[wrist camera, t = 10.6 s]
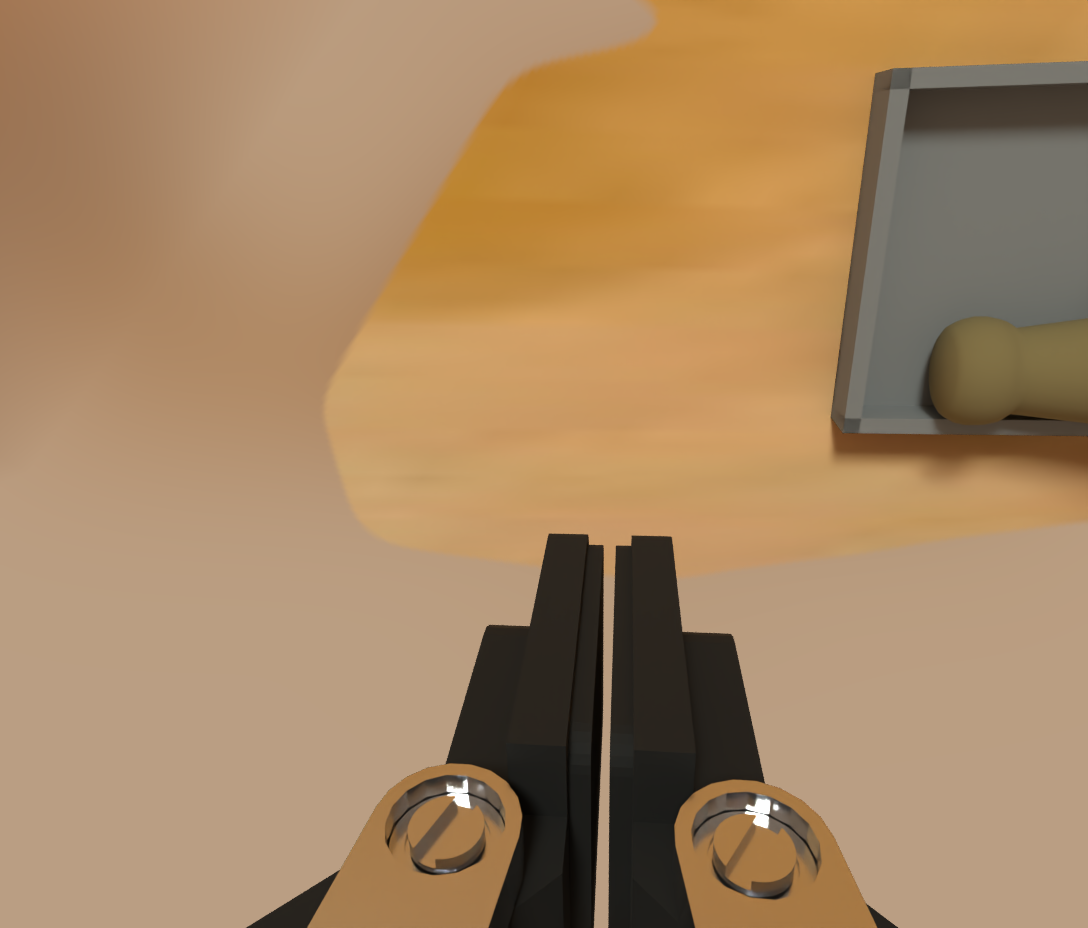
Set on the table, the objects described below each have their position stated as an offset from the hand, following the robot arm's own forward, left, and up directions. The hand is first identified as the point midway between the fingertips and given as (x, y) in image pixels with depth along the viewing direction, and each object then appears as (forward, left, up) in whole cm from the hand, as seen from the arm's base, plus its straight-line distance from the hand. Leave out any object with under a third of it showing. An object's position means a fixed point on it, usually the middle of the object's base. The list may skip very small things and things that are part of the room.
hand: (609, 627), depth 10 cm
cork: (-10, +25, -28) cm, 38 cm away
